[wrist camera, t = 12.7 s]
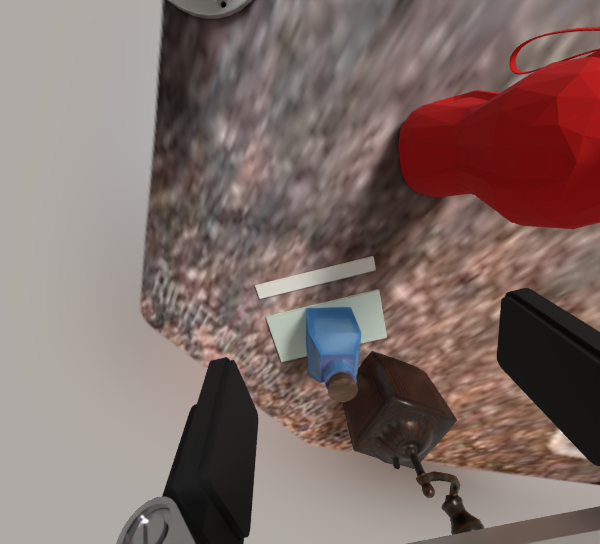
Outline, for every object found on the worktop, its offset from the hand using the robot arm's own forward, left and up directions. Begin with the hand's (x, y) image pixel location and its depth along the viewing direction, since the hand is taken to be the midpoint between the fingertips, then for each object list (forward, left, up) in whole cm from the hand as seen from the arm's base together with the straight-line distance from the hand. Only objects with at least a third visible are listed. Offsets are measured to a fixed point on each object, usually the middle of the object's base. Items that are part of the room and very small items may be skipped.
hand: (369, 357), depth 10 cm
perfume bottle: (+17, -1, -27) cm, 32 cm away
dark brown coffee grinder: (+32, +7, -28) cm, 43 cm away
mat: (+17, -1, -27) cm, 32 cm away
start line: (+9, -1, -27) cm, 29 cm away
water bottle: (-4, +16, -28) cm, 32 cm away
